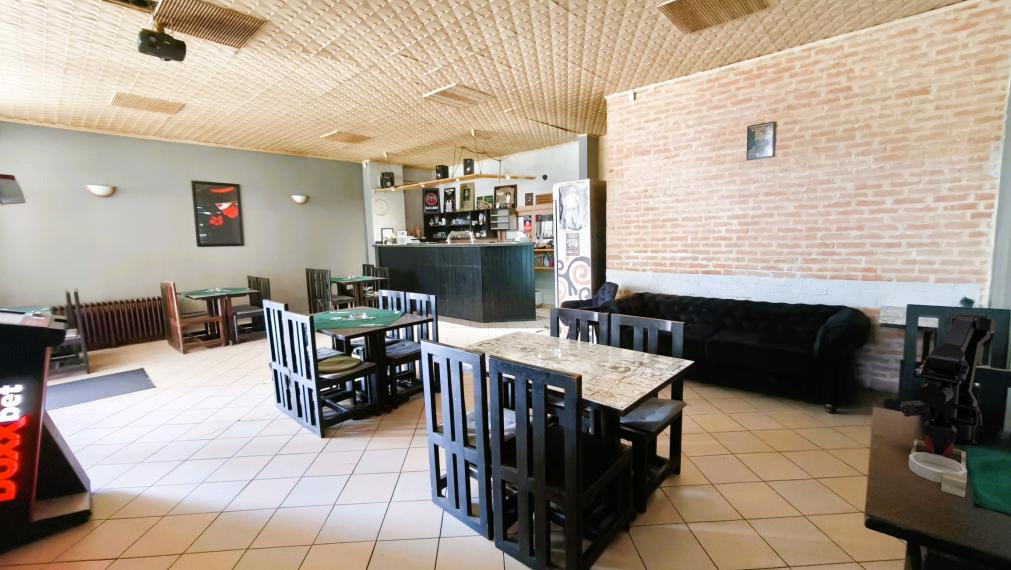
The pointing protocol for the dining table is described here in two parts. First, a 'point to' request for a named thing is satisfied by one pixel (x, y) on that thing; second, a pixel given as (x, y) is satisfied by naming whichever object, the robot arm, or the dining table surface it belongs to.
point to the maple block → (953, 483)
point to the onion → (930, 447)
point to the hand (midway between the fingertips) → (938, 448)
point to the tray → (955, 451)
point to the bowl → (934, 466)
